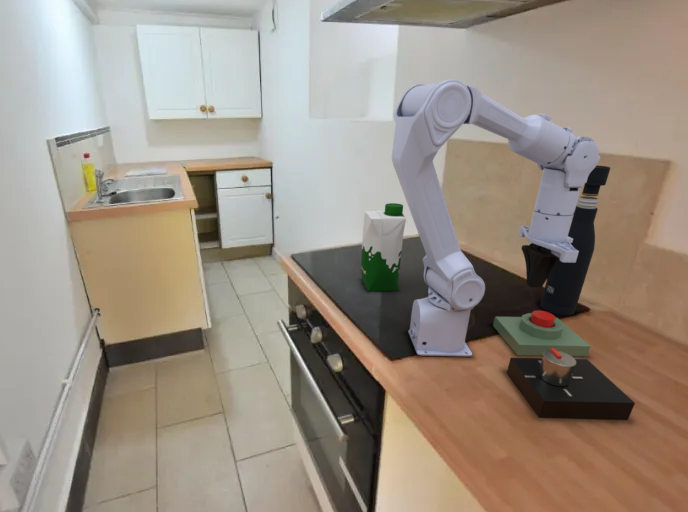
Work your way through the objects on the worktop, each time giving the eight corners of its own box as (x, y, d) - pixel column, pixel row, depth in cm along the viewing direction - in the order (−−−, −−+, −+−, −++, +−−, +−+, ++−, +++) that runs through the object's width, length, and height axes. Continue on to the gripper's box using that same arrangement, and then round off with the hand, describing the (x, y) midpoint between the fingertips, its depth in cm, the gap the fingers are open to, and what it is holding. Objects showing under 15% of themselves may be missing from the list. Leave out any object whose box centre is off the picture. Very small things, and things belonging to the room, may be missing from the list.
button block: (516, 355, 66) (521, 335, 65) (492, 326, 76) (496, 308, 74) (587, 356, 66) (593, 337, 64) (554, 327, 75) (559, 309, 74)
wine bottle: (577, 308, 82) (621, 166, 71) (571, 318, 78) (617, 169, 67) (544, 299, 87) (580, 163, 75) (536, 308, 82) (574, 166, 71)
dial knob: (575, 386, 54) (583, 364, 53) (547, 386, 54) (553, 364, 53) (559, 369, 58) (566, 348, 56) (532, 368, 58) (538, 347, 56)
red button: (536, 328, 68) (538, 319, 67) (526, 318, 71) (528, 310, 70) (557, 328, 68) (559, 320, 67) (546, 318, 71) (548, 310, 70)
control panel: (538, 417, 53) (543, 399, 51) (506, 372, 62) (509, 356, 61) (628, 420, 52) (635, 402, 51) (581, 374, 61) (587, 358, 60)
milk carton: (401, 292, 90) (410, 209, 82) (364, 293, 90) (369, 210, 82) (391, 277, 98) (398, 200, 91) (357, 278, 98) (361, 201, 90)
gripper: (608, 223, 56) (582, 304, 62) (553, 202, 70) (536, 271, 75) (559, 223, 57) (538, 303, 62) (514, 202, 70) (499, 270, 75)
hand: (534, 285), depth 69 cm, fingers closed
